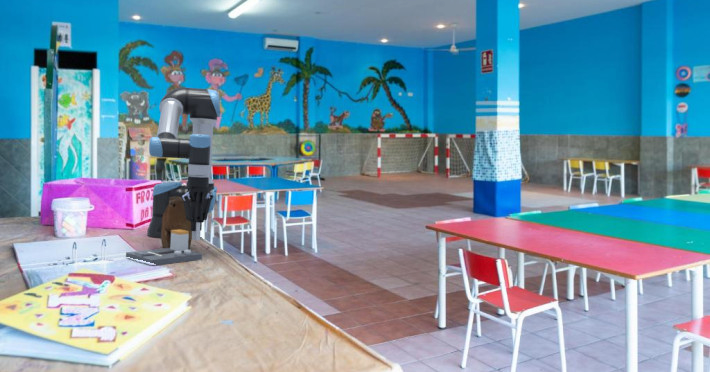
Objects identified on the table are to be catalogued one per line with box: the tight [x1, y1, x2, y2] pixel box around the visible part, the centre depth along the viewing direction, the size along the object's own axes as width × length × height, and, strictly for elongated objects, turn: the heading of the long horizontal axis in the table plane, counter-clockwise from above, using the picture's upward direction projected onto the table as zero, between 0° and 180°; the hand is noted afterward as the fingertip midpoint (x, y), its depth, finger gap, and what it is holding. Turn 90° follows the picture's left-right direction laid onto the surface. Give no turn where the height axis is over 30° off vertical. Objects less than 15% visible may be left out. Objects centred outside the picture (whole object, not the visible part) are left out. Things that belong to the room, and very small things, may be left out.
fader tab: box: [170, 229, 189, 251], centre depth 212 cm, size 4×5×7 cm
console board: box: [125, 247, 203, 266], centre depth 208 cm, size 20×16×4 cm
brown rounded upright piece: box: [160, 196, 193, 249], centre depth 228 cm, size 11×8×20 cm
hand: (195, 239), depth 218 cm, fingers closed
